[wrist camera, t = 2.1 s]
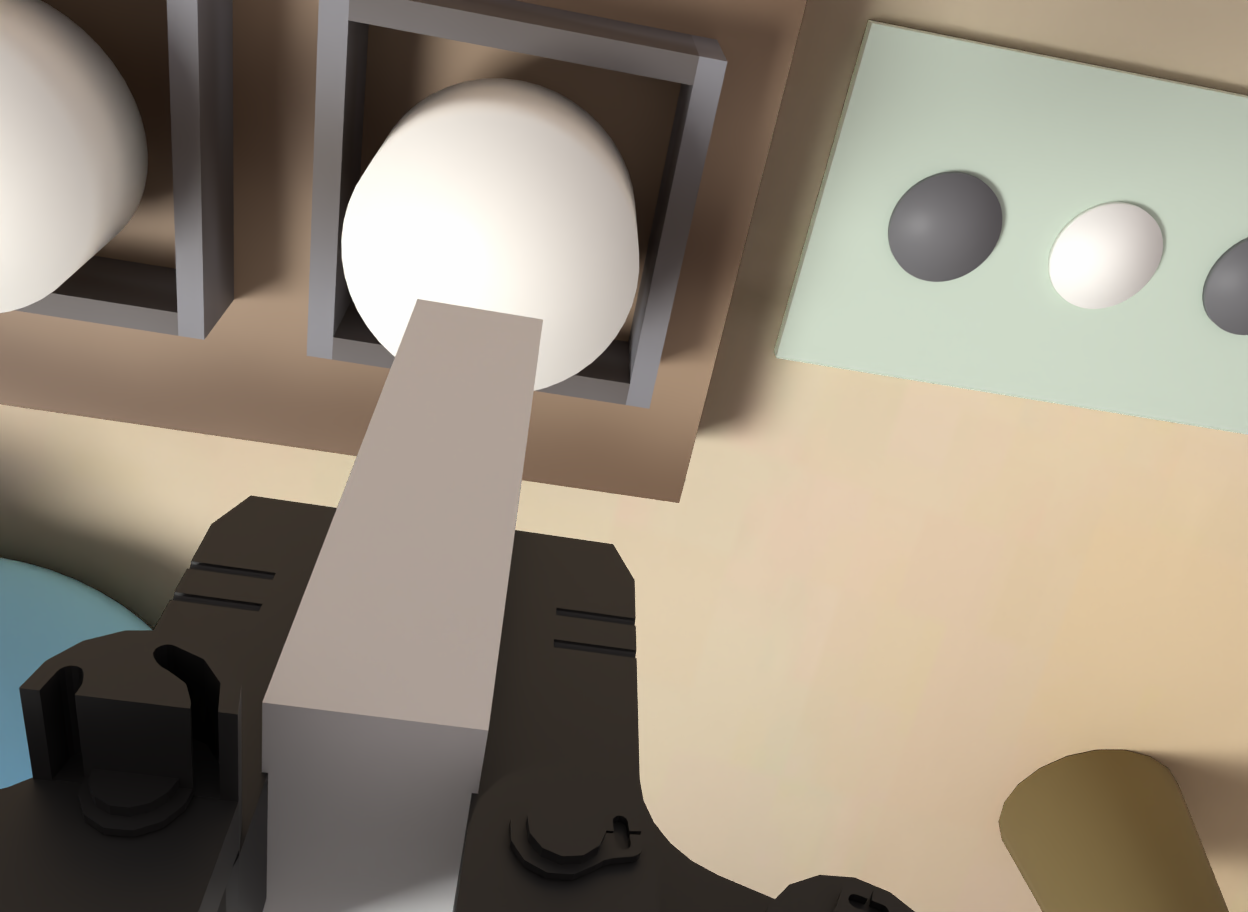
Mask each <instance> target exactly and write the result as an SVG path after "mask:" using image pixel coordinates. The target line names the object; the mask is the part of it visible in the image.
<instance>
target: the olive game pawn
mask: <svg viewBox="0 0 1248 912" xmlns="http://www.w3.org/2000/svg"><path fill="white" fill-rule="evenodd" d="M999 827H1000V832H1001V838H1002V841H1003V842H1004V844H1005V846H1006V848H1007V849H1008V851H1009V853H1010V855H1011V857H1012V858H1013V860H1014V862H1015V864H1016V865H1017V867H1018V869H1019V871H1020V873H1021V874H1022V876H1023V878H1024V880H1025V881H1026V883H1027V885H1028V887H1029V889H1030V890H1031V892H1032V894H1033V896H1034V897H1035V899H1036V901H1037V903H1038V904H1039V906H1040V908H1041V910H1042V912H1229V911H1228V908H1227V906H1226V903H1225V901H1224V898H1223V896H1222V893H1221V891H1220V888H1219V886H1218V883H1217V881H1216V878H1215V876H1214V873H1213V871H1212V868H1211V866H1210V863H1209V861H1208V858H1207V856H1206V853H1205V851H1204V848H1203V846H1202V843H1201V841H1200V838H1199V836H1198V833H1197V831H1196V828H1195V826H1194V823H1193V821H1192V818H1191V816H1190V813H1189V811H1188V808H1187V806H1186V803H1185V800H1184V798H1183V795H1182V793H1181V790H1180V788H1179V785H1178V783H1177V782H1176V780H1175V779H1174V777H1173V775H1172V774H1171V772H1170V771H1169V769H1168V768H1167V767H1165V766H1164V765H1162V764H1161V763H1159V762H1158V761H1156V760H1155V759H1153V758H1152V757H1150V756H1146V755H1142V754H1138V753H1135V752H1131V751H1127V750H1094V751H1090V752H1085V753H1081V754H1076V755H1071V756H1067V757H1065V758H1062V759H1060V760H1058V761H1055V762H1053V763H1051V764H1049V765H1046V766H1044V767H1042V768H1040V769H1038V770H1037V771H1036V772H1034V773H1033V774H1032V775H1030V776H1029V777H1028V778H1026V779H1025V780H1024V781H1022V782H1021V783H1020V784H1018V786H1017V787H1016V788H1015V790H1014V791H1013V792H1012V793H1011V795H1010V796H1009V797H1008V799H1007V800H1006V801H1005V803H1004V805H1003V809H1002V812H1001V815H1000V819H999Z"/></svg>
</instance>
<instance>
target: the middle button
mask: <svg viewBox="0 0 1248 912" xmlns="http://www.w3.org/2000/svg"><path fill="white" fill-rule="evenodd" d="M147 171H148V151H147V142H146V135H145V131H144V127H143V123H142V119H141V116H140V113H139V110H138V108H137V105H136V102H135V100H134V98H133V96H132V94H131V92H130V90H129V88H128V86H127V84H126V82H125V80H124V79H123V77H122V76H121V74H120V73H119V71H118V69H117V68H116V66H115V65H114V63H113V62H112V61H111V60H110V58H109V57H108V56H107V55H106V53H105V52H104V51H103V50H102V49H101V47H100V46H99V45H98V44H97V43H96V42H95V41H94V40H93V39H92V38H91V37H90V36H89V35H88V34H87V33H86V32H85V31H84V30H83V29H81V28H80V27H79V26H78V25H77V24H75V23H74V22H73V21H72V20H70V19H69V18H68V17H67V16H65V15H64V14H62V13H61V12H59V11H58V10H56V9H55V8H53V7H52V6H50V5H48V4H47V3H45V2H43V1H41V0H0V313H3V312H9V311H13V310H16V309H20V308H23V307H26V306H28V305H30V304H33V303H35V302H37V301H39V300H41V299H43V298H44V297H46V296H47V295H49V294H50V293H52V292H53V291H55V290H56V289H57V288H58V287H59V286H60V285H61V284H63V283H64V282H65V281H66V280H67V279H68V278H69V277H70V276H72V275H73V274H74V273H75V272H76V271H77V270H78V269H79V268H80V267H82V266H83V265H84V264H85V263H86V262H87V261H88V260H89V259H91V258H92V257H93V256H94V255H95V254H96V253H97V252H98V251H100V250H101V249H102V248H103V247H104V246H105V245H106V244H107V243H109V242H110V241H111V240H112V239H113V238H114V237H115V236H116V235H117V234H118V233H119V232H120V231H121V230H123V229H124V227H125V226H126V225H127V223H128V222H129V221H130V219H131V218H132V217H133V215H134V213H135V211H136V209H137V207H138V205H139V203H140V201H141V198H142V195H143V192H144V189H145V183H146V177H147Z"/></svg>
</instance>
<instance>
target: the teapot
mask: <svg viewBox="0 0 1248 912" xmlns="http://www.w3.org/2000/svg"><path fill="white" fill-rule="evenodd" d="M125 630H152V629H151V628H150V627H149V626H148V625H147V624H146V623H145V622H144V621H142V620H141V619H140V618H138V617H137V616H136V615H135V614H133V613H132V612H131V611H129V610H128V609H127V608H125V607H124V606H123V605H121V604H119V603H118V602H116V601H115V600H113V599H111V598H110V597H108V596H106V595H105V594H103V593H102V592H100V591H98V590H96V589H94V588H92V587H90V586H88V585H86V584H84V583H82V582H80V581H78V580H75V579H73V578H70V577H68V576H65V575H63V574H60V573H58V572H55V571H52V570H50V569H46V568H43V567H39V566H36V565H32V564H29V563H25V562H21V561H16V560H11V559H5V558H0V789H2V788H7V787H9V786H12V785H15V784H17V783H20V782H22V781H25V780H27V779H30V778H32V777H33V775H32V769H31V762H30V756H29V749H28V743H27V737H26V730H25V724H24V717H23V711H22V704H21V698H20V692H19V687H20V686H21V685H22V684H23V683H24V682H25V681H26V680H27V679H28V678H29V677H30V676H31V675H32V674H33V673H34V672H35V671H36V670H37V669H38V668H39V667H40V666H41V665H42V664H43V663H44V662H45V661H46V660H48V659H50V658H52V657H53V656H55V655H57V654H59V653H61V652H63V651H65V650H67V649H68V648H70V647H72V646H74V645H76V644H78V643H80V642H82V641H84V640H88V639H92V638H96V637H100V636H104V635H108V634H113V633H117V632H121V631H125Z"/></svg>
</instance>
